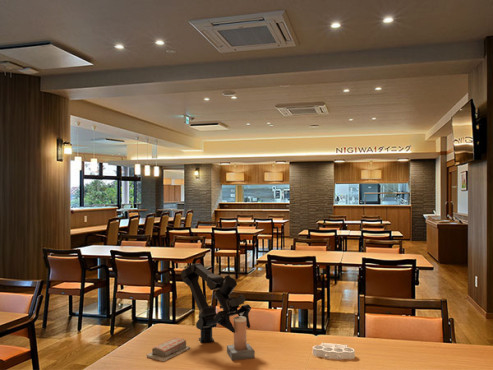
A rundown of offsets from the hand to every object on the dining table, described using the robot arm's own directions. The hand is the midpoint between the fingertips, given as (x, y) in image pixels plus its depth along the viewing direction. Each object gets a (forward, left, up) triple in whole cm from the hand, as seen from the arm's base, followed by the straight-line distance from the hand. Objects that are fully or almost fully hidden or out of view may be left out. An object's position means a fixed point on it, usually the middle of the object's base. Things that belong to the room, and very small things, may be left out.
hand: (242, 330), depth 190 cm
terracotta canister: (-1, -1, -8) cm, 8 cm away
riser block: (-1, -1, -11) cm, 11 cm away
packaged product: (-13, -31, -12) cm, 35 cm away
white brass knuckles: (+9, +39, -12) cm, 42 cm away
